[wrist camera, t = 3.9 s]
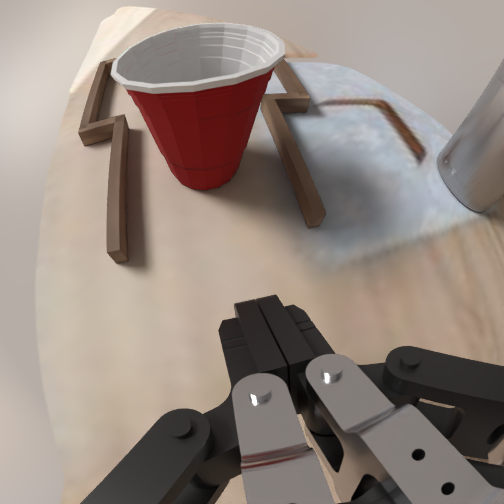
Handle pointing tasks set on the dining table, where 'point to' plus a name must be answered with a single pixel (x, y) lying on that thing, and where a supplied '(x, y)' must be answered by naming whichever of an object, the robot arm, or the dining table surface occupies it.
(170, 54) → the plastic cup
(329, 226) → the dining table surface
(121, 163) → the T fence
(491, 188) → the robot arm
